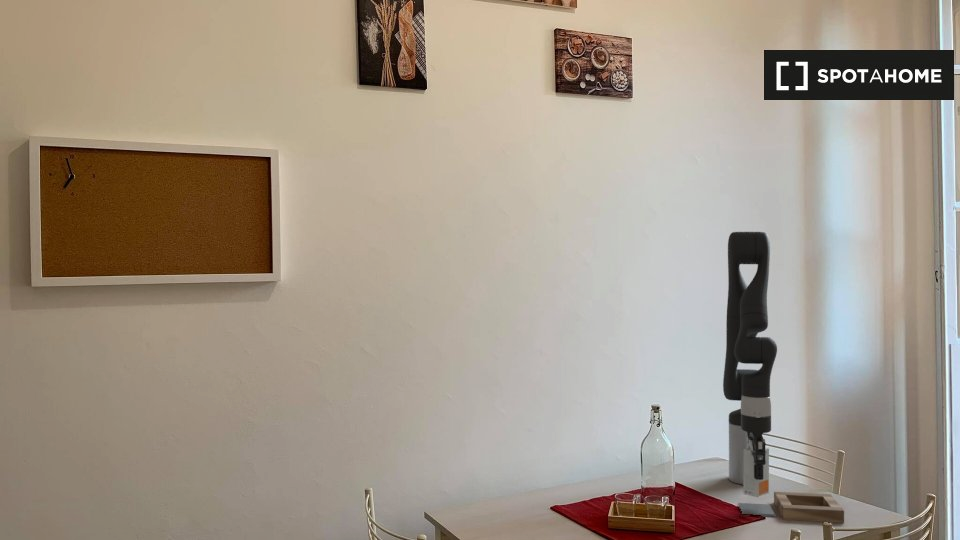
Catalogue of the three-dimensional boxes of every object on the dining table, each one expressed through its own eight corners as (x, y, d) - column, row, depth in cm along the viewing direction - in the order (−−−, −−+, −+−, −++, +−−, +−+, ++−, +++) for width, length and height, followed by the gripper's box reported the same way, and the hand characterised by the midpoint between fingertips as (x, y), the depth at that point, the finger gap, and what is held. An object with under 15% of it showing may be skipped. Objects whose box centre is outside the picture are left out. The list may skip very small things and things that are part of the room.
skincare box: (758, 498, 199) (757, 452, 199) (742, 494, 202) (742, 449, 202) (769, 493, 203) (769, 448, 203) (754, 489, 206) (754, 445, 206)
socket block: (774, 502, 209) (773, 491, 209) (830, 505, 206) (830, 494, 206) (783, 519, 196) (783, 507, 196) (844, 522, 193) (844, 510, 193)
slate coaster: (738, 505, 207) (738, 502, 207) (769, 506, 206) (769, 504, 206) (742, 515, 200) (742, 512, 200) (775, 516, 198) (775, 514, 198)
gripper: (737, 407, 210) (737, 467, 210) (744, 417, 196) (745, 482, 196) (766, 407, 208) (766, 468, 209) (776, 418, 194) (776, 483, 195)
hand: (756, 474), depth 202 cm, fingers closed on skincare box, 7 cm apart
